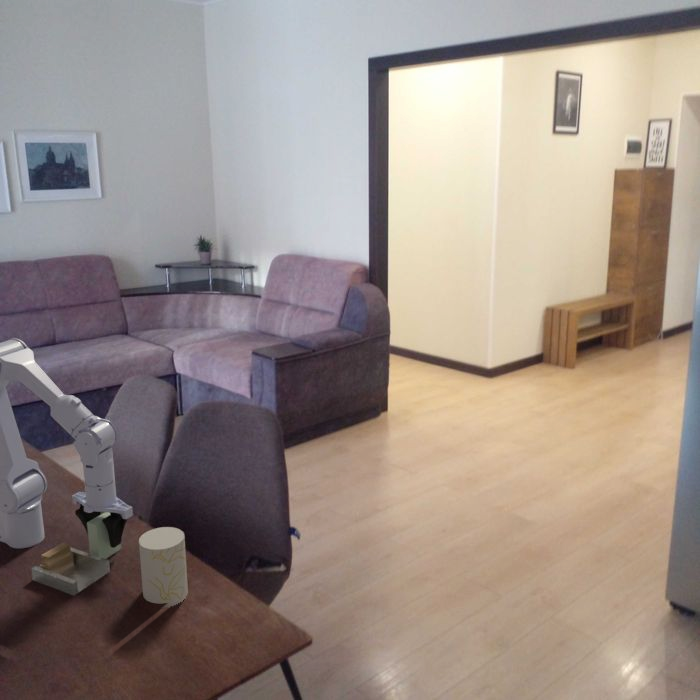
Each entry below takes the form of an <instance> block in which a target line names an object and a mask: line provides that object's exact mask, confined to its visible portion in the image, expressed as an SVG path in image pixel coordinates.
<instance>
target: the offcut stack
mask: <svg viewBox="0 0 700 700" xmlns="http://www.w3.org/2000/svg"><path fill="white" fill-rule="evenodd" d="M70 547H71V545H70V544H68V543H64V542H62V543H60V544H58V545H56V546H55V547H53V548H51V549H49V550H47V551H46V552H44V553H42V554H41V555H40V556H41V564H40V565H39V566H38V567H40V568H43V569H46V570H48V571H51V572H54V573H57V574H60V573H61V572H63V571H65V570H66V569H68V568H69V567H71V566H73V565H74V560H73V554H71V550H70Z"/></svg>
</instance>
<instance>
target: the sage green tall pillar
mask: <svg viewBox="0 0 700 700" xmlns="http://www.w3.org/2000/svg"><path fill="white" fill-rule="evenodd" d="M109 515H110V513H109V512H102V513H101V515H99V516H98V517H96V518H94V519H92V520H91V521H89V522H87V529H88V534H87V536H88V537H87V538H88V547H89V554H92V555H95V556H98V557H101V558H104V559H107V560H108V558H110V557H112V555H114V554H116V553H117V552H119V551H120V550H122V543H121V544H119V545H118V546H116V547H115V548H112V547H111V546H110V542H109V535H108V531H107V529H106V526H105V524H104V523H103V521H102V519H104V518H106V517H107V516H109Z"/></svg>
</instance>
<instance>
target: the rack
mask: <svg viewBox="0 0 700 700" xmlns="http://www.w3.org/2000/svg"><path fill="white" fill-rule="evenodd" d="M70 550H71V554H73V560H74V565H73V566H71V567H69V568H68V569H66V570H65V571H63V572H61V573H60V574H57V573H54V572H51V571H48V570H46V569H43V568H40V567H39V566H38V565H35V566H33V567H31V570H30V571H31V577H32V581H33V582H37V583H38V584H42V585H45V586H47V587H50V588H52V589H55V590H58V591H61V592H63V593H66V594H68V595H71V596H76V595H77V594H79V593H80V592H82V591H84V589H86V588H88V587H89V586H91V585H92V584H94V583H95V582H96V581H99V580H100V579H101V578H103V577H104V576H106V575H107V574H109V573H110V572H111V568H110V567H111V565H110V560H109V559H108V558H107V559H104V558H101V557H98V556H95V555H92V554H90V552H89V553H88V552H86V551H83V550H79V549H77V548H74V547H71V546H70Z"/></svg>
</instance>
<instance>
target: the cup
mask: <svg viewBox="0 0 700 700" xmlns="http://www.w3.org/2000/svg"><path fill="white" fill-rule="evenodd" d="M185 539H186V537H185V532H184V531H182V530H181V529H179V528H177V527H173V526H162V527H157V528H156V527H155V528H152V529H150V530H148V531H146V532H144V533H143V534H142V535H141V536H140V537H139V539H138V548H139V559H140V562H139V563H140V571H141V573H140V574H141V585H142V586H141V587H142V595H143V598H144V599H145V601H147V602H150V603H153V604H158V605H159V604H160V605H162V604H165V605H163V606H162V607H161V609H166V608H165V607H168V608H171V607H170V606H172V607H175V606H177V605H179V604H181V603H182V602H183V600H184V599H185V600H186V598H187V597H188V595H187V594H189V590H188V588H189V587H188V572H187V571H188V570H187V556H186V541H185ZM186 596H187V597H186ZM185 600H184V601H185ZM180 602H181V603H180ZM178 603H179V604H178ZM176 604H177V605H176ZM174 605H175V606H174Z"/></svg>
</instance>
